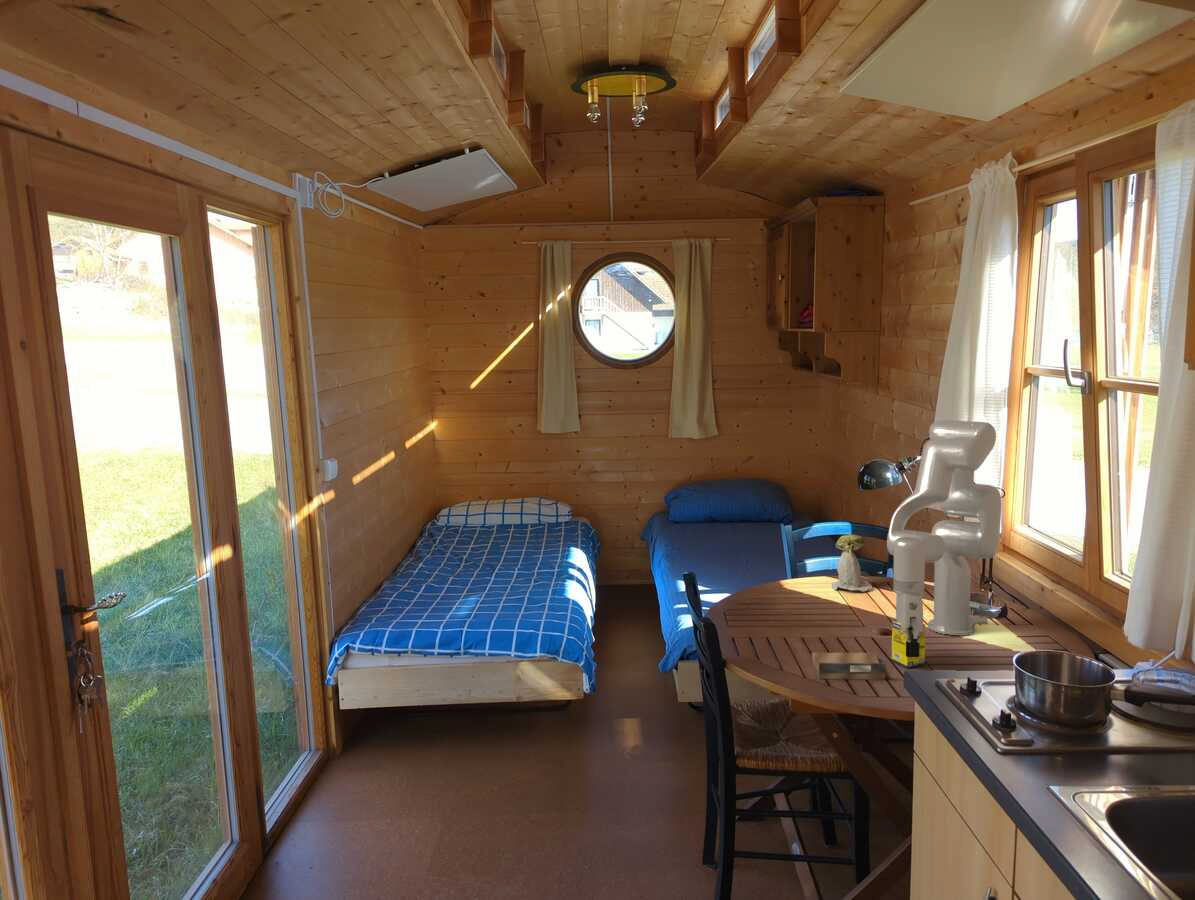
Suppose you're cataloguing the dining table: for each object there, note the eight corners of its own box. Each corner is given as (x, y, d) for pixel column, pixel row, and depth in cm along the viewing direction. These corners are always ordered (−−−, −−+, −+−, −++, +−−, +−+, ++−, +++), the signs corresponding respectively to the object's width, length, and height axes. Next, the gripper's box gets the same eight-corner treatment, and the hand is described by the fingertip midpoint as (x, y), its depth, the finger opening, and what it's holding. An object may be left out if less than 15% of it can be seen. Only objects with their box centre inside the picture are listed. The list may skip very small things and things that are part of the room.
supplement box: (907, 669, 221) (907, 628, 220) (891, 661, 227) (891, 621, 225) (925, 665, 223) (926, 624, 222) (908, 657, 229) (909, 617, 227)
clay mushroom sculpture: (868, 595, 282) (868, 540, 279) (828, 591, 288) (828, 537, 285) (874, 585, 292) (874, 532, 290) (835, 581, 298) (835, 529, 296)
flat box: (873, 658, 229) (874, 643, 228) (885, 679, 215) (885, 664, 215) (812, 658, 231) (812, 643, 230) (819, 679, 217) (819, 663, 216)
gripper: (932, 595, 213) (931, 662, 215) (915, 576, 230) (914, 638, 232) (901, 595, 214) (900, 662, 216) (886, 576, 231) (885, 638, 233)
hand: (907, 649), depth 224 cm, fingers open, 9 cm apart
